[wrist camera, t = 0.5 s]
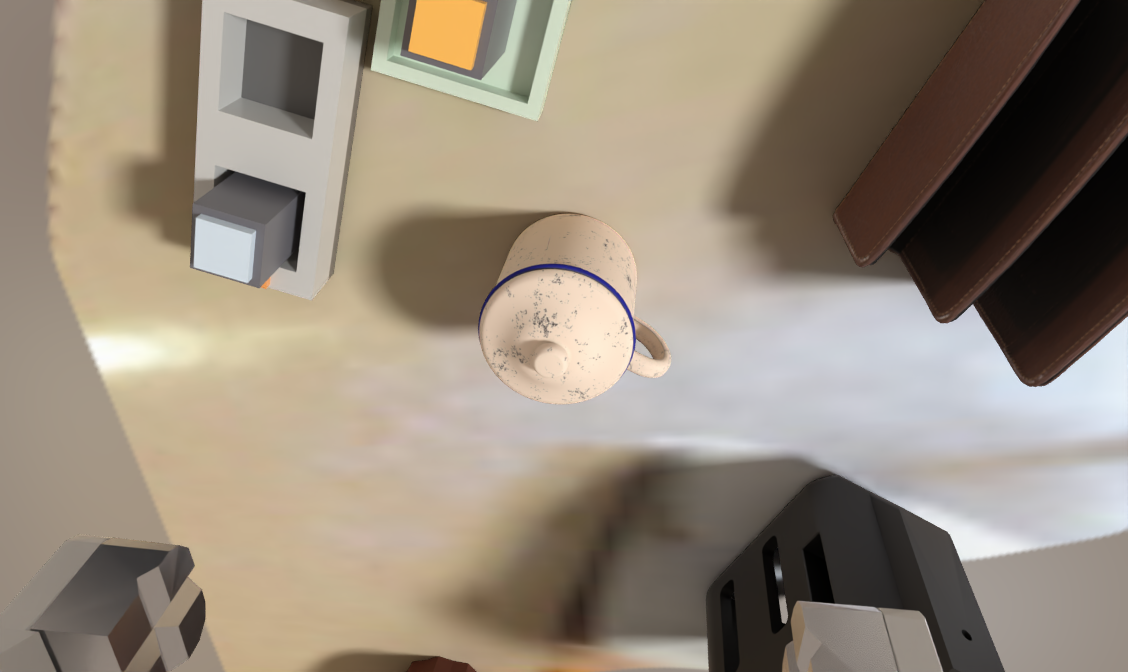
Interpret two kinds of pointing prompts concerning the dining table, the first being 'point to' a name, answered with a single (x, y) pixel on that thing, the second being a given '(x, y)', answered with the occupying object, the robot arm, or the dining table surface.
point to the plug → (458, 34)
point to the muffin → (439, 666)
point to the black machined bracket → (845, 579)
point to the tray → (511, 79)
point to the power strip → (283, 112)
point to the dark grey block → (246, 228)
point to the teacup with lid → (567, 313)
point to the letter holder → (1013, 181)
